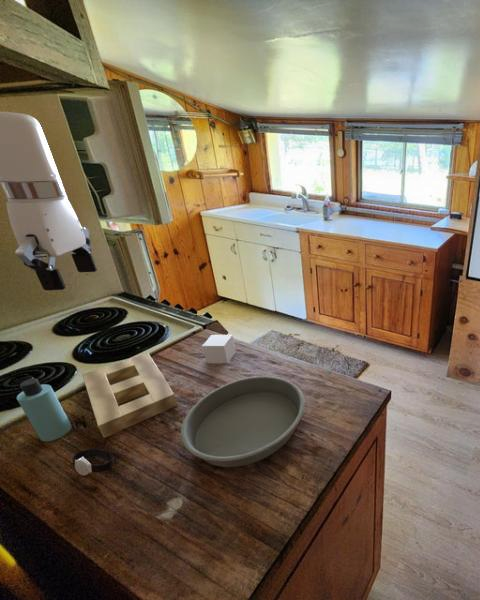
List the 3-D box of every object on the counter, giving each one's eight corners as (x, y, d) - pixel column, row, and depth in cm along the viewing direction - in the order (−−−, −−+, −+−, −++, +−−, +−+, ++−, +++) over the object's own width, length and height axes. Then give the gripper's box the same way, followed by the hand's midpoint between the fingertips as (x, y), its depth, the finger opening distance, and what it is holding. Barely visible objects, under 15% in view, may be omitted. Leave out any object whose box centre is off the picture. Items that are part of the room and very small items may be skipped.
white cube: (206, 363, 93) (201, 345, 91) (215, 351, 98) (211, 334, 96) (227, 363, 93) (223, 345, 91) (236, 351, 99) (232, 334, 96)
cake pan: (162, 482, 60) (155, 466, 58) (211, 393, 82) (207, 378, 80) (298, 468, 64) (296, 452, 62) (310, 386, 86) (309, 372, 84)
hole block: (103, 438, 69) (97, 425, 67) (87, 385, 83) (82, 374, 81) (178, 405, 78) (174, 394, 76) (151, 363, 92) (148, 352, 91)
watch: (66, 471, 61) (59, 458, 60) (93, 451, 66) (86, 438, 64) (99, 481, 60) (92, 467, 58) (124, 459, 64) (118, 446, 63)
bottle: (41, 445, 66) (10, 394, 61) (39, 432, 69) (10, 382, 64) (73, 432, 70) (46, 382, 64) (70, 420, 73) (45, 371, 67)
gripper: (46, 185, 65) (78, 266, 72) (-38, 197, 49) (14, 299, 57) (90, 186, 66) (118, 265, 74) (22, 198, 51) (65, 296, 58)
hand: (72, 280), depth 65 cm, fingers open, 9 cm apart
